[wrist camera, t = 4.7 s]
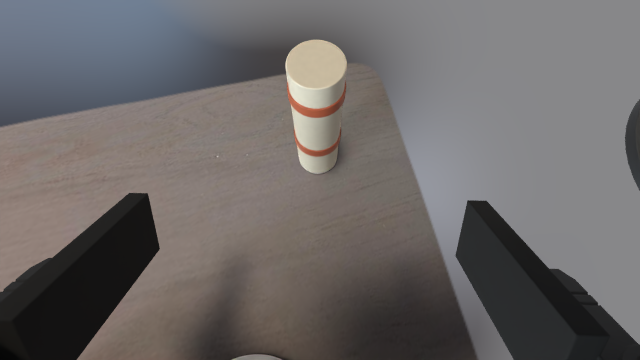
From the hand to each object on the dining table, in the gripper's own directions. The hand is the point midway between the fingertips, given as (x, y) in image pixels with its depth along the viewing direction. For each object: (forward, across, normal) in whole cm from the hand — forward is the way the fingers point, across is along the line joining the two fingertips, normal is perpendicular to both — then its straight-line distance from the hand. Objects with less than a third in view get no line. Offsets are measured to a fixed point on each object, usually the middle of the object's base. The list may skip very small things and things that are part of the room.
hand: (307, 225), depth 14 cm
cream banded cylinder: (+18, 0, -4) cm, 18 cm away
